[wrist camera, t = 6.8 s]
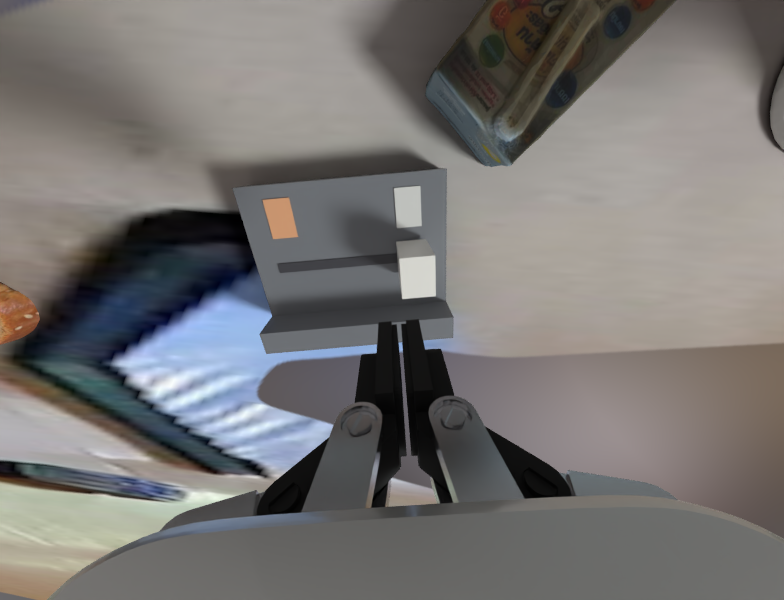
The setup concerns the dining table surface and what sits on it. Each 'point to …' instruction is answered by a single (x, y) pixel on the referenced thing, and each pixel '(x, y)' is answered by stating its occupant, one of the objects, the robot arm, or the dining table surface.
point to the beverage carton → (530, 67)
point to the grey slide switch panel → (345, 256)
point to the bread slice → (15, 315)
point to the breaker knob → (416, 269)
